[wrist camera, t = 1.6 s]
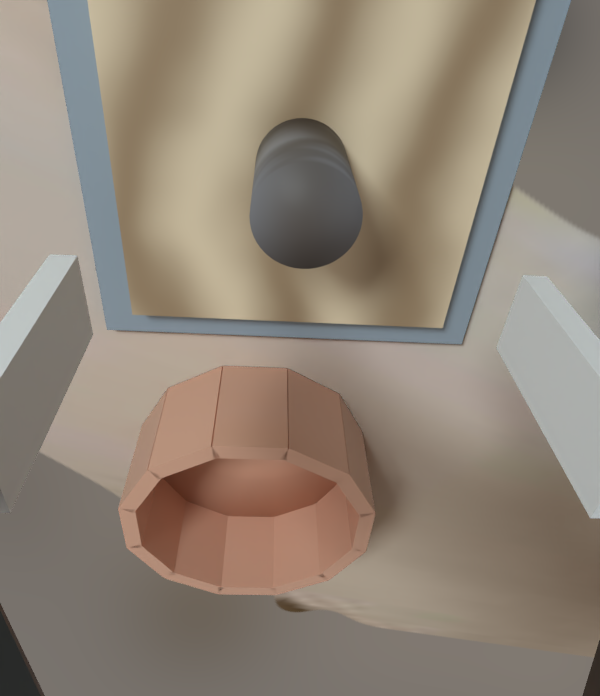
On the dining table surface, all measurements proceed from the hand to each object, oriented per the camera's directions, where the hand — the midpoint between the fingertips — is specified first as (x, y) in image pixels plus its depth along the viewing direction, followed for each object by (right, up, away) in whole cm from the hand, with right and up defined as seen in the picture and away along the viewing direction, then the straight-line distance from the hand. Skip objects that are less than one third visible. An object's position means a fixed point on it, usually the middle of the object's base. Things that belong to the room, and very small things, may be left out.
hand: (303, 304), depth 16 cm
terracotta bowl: (-4, -9, +24) cm, 26 cm away
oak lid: (0, +8, +10) cm, 13 cm away
